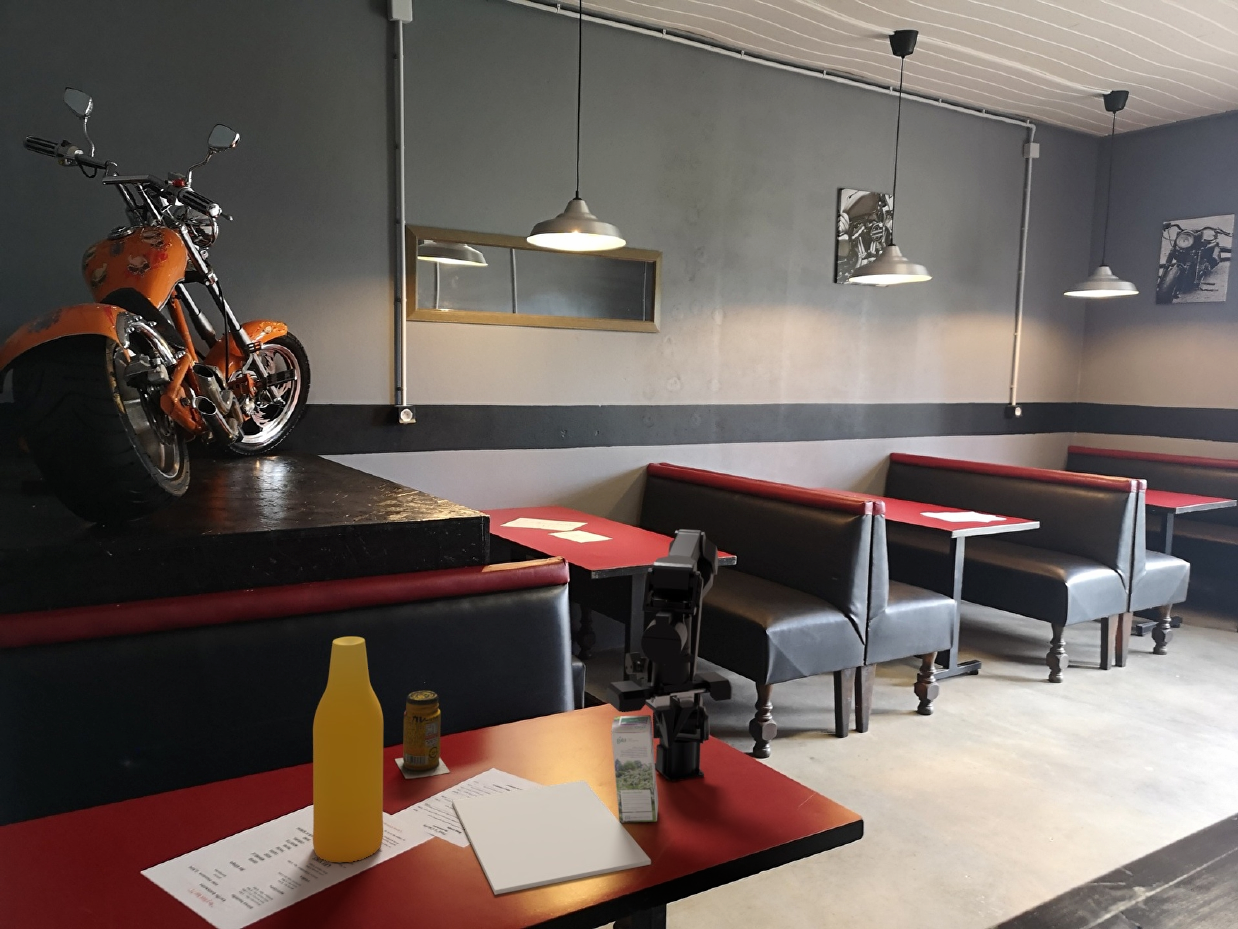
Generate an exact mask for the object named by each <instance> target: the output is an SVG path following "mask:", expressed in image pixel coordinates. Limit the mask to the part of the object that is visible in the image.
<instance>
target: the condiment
mask: <svg viewBox="0 0 1238 929" xmlns="http://www.w3.org/2000/svg"><path fill="white" fill-rule="evenodd" d="M439 699H440V698H439V695H438V694H437V693H436V692H435V691H431V690H417V691H413V692H411V693H409V694H408V695H407V697H406V705H405V708H406V709H405V711H404V713H403V743H402V746H403V747H402V748H403V749H402V750H403V751H402V756H403V757H399V758H395V759H394V760H395V763H396V764H397V767H398V768H399V770H400V771H401V773H402V775H403V776H404V778H405V779H417V778H425V777H433V776H437V775H443V774H447V773H451V771H450V770H449V768H448V766H446V764H445V762H444V761H443V760H442V758H441V724H442V723H441V722H442V721H441V710H440V709H439V705H440V704H439Z"/></svg>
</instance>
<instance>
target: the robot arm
mask: <svg viewBox="0 0 1238 929" xmlns="http://www.w3.org/2000/svg"><path fill="white" fill-rule="evenodd" d="M668 544H669V545H668V553H667V556H663V557H657V558H656V560H654V562H653V563H652V566H651V568H650V567H649V568H648V570H647V574H646V579H645V580H646V582H645V588H644V595H643V601H642V602H643V603H642V609H641V610H642V612H650V613H652V618H651V622H650V623H649V625H648V626H647V628H646V629H645V631H643V633H642V636H641V639H640V641H641V642H640V643H641V644H640V646H641V649H642V652H643V654H644V657H642V655H641V652H627V653H625V661H624V665H625V672H626V674H627V675H634V674H636V679H637V680H643V681H644V682H645V683H648V684H649V683H650V685H648V686H640V685H638V684H637V683H635V682H634V681H632V680H623V681H614V682H610V683H609V685H608V686H607V688H606V690H605V701H606V702H607V703H609V704H610V706H612V707H613V708H614V709H616V710H617V711H618V712H619V713H629V712H637V711H638V712H639V711H641V710H642V709H643V708H644V707H645V706H646V707H648V708H649V709H650V710H651V711H652V733H653V739H658V741H659V742H658V744H657V745H656V748H655V749H656V752H655V753H656V754H655V755H656V757H655V758H656V759H655V770H657V771H658V772H659V773H660V774H661V775H662V776H663V777H664V778H665V779H666V780H667V781H668V782H675V781H682V780H688V779H689V780H690V779H696V777H697V778H702V777H704V776H705V772H704V771H702V770H701V744H702V745H703V744H704V743H705V742H706V741H708V740H710V717H709V714H707V710H706V709H707V708H706V706H703V701H704V699H703V697H702V694H708V693H709V696H710V697H711V698H712V700H714V701H715V702H720V701H730V700H732V698H733V685H732V683H731V681H730V680H729V679H728V678H726V677H724V676H723V675H721V674H719V673H717V672H716V671H709V672H708V671H707V672H699V673H698V672H697V665H698V664H697V662H698V654H699V640H700V630H701V628H700V627H701V619H702V610H703V609H702V608H703V599H704V597H705V596H706V595H707V593H708V592H709V591H710V590H711V588H712V587H713V582H714V576H715V575H718V568H719V554H718V548H717V545H716V544H714V543H713V542H712V541H710V540H709V539H708V538H707V537H706V531H702V530H698V529H683V528H679V530H675V532H674V537H673V540H671V541H670V542H669V543H668ZM651 598H652V599H651Z"/></svg>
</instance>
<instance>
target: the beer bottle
mask: <svg viewBox="0 0 1238 929" xmlns="http://www.w3.org/2000/svg"><path fill="white" fill-rule="evenodd" d="M331 645H332V646H331V652H330V653H331V654H330V663H329V669H328V670H329V672H328V679H327V684H326V688H325V691H324V692H323V694H322V697H321V698H320V701H319V702H318V705H317V708H316V710H315V713H314V714H315V715H314V719H313V725H312V738H313V739H312V745H313V750H312V752H313V753H312V754H313V755H312V758H313V759H312V761H313V762H312V763H313V764H312V765H313V768H312V769H313V772H312V774H313V776H312V780H313V781H312V782H313V786H312V787H313V789H312V793H313V795H312V796H313V800H312V802H313V803H312V804H313V805H312V806H313V812H312V813H313V814H312V815H313V823H312V824H313V828H312V829H313V830H312V845H313V846H312V847H313V849H314V850H313V851H314V853H315V855H316V856H317V857H318V858H319V857H320V859H321V860H322V859H324V860H323V861H325V860H327V861H326V862H328V861H331V862H330V863H332V862H349V863H354V862H353V861H355V862H358V861H357V860H359V861H361V859H362V860H364V858H365V859H367V858H369V857H371V856H372V855H374V854H375V853H376V852H377V851H378V850H379V849H380V847H381V845H382V843H383V839H384V819H383V818H384V813H383V812H384V808H383V807H384V805H383V804H384V800H383V799H384V792H383V791H384V715H383V711H382V706H381V703H380V701H379V699H378V697H377V694H376V693H375V691H374V690H373V687H372V685H371V682H370V675H369V674H370V673H369V669H368V668H369V667H368V666H369V665H368V664H369V663H368V656H367V648H366V640H365V638H363V637H360V636H342V637H339V638H335V639H333V641H332V644H331ZM373 853H374V854H373ZM370 855H371V856H370ZM368 856H369V857H368ZM366 857H367V858H366Z"/></svg>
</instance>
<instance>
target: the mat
mask: <svg viewBox="0 0 1238 929" xmlns="http://www.w3.org/2000/svg"><path fill="white" fill-rule="evenodd" d="M451 802H452V806H453V808H454V811H455V814H457V817H458V819H459V822H460V823H461V825H463V826H462V827H464V828H463V829H465V830H464V831H465V834H466V836H467V835H468V836H467V838H468V841H469V842H471V843H470V844H471V848H472V849H473V851H474V853H475V855H476V858H477V859H478V863H480V865H481V869H482V871H483V872H484V874H485V877H486V879H487V880H488V884H489V885H490V887H491V889H492V891H493V893H494V895H501V894H505V893H510V892H517V891H520V890H526V889H531V888H536V887H537V888H538V887H541V886H547V885H552V884H556V883H561V882H567V881H573V880H577V879H582V878H588V877H592V876H596V875H597V876H598V875H599V876H600V875H603V874H609V873H613V872H614V873H615V872H619V871H622V870H629V869H633V868H638V867H643V866H644V867H645V866H648V865H649V866H651V865H652V860H651V858H650V857H649V855H648V854H646V852H645V851H644V850H643V849H642V848H641V846H640V845H639V844H638V843H637V842H636V840H635V839H634V838H633V836H632V835H631V834H630V833H629V832H628V830H626V828H625V827H624V826H623V824H622V823H620V822H619V819H618V818H617V817H616V816H615V815H614V814H613V812H612V811H611V810H610V809H609V807H608V806H607V805H606V804H605V803H604V801H602V799H601V798H600V797H599V795H598V794H597V792H595V791H594V790H593V788H592V787H591V786H590V785H589V783H588V782H587V781H586V780H585V779H583V780H578V781H576V780H575V781H569V782H563V783H557V784H550V785H543V786H537V787H530V788H529V787H528V788H523V789H515V790H511V791H509V790H508V791H503V792H498V793H496V792H495V793H489V794H484V795H478V796H477V795H476V796H470V797H469V796H468V797H465V798H457V799H452V801H451Z"/></svg>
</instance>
